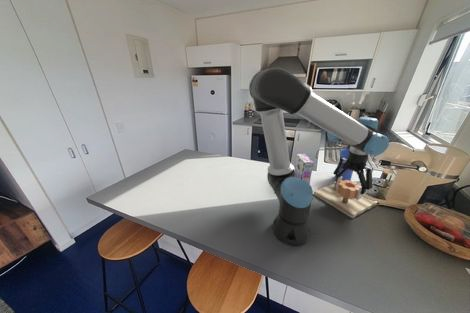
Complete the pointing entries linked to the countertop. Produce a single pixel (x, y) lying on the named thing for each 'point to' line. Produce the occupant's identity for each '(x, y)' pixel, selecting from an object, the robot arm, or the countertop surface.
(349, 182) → the gear
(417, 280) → the countertop surface
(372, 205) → the gear board
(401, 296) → the countertop surface
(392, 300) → the countertop surface
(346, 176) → the water bottle
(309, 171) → the candy box
